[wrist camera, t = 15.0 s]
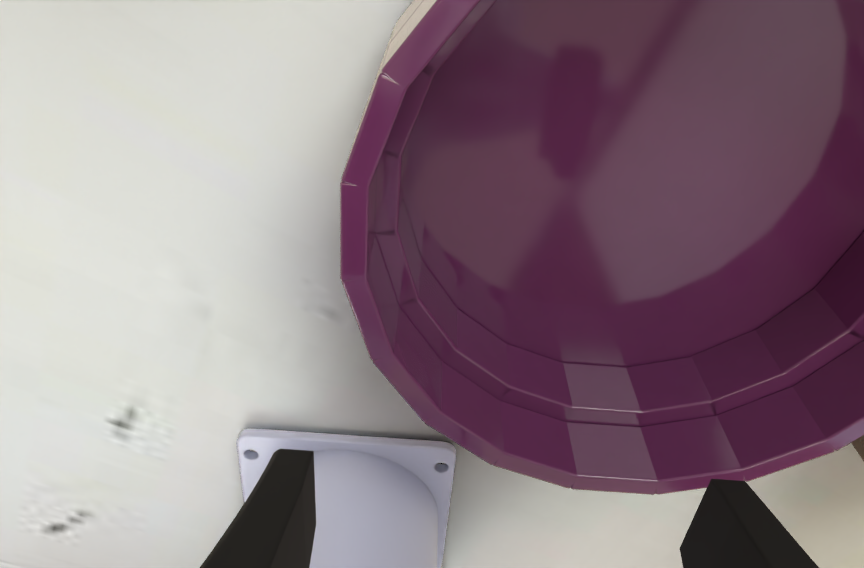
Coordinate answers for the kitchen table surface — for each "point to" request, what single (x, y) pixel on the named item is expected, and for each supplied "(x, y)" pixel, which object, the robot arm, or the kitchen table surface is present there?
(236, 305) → the kitchen table surface
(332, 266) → the kitchen table surface
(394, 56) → the bowl
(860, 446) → the eraser
